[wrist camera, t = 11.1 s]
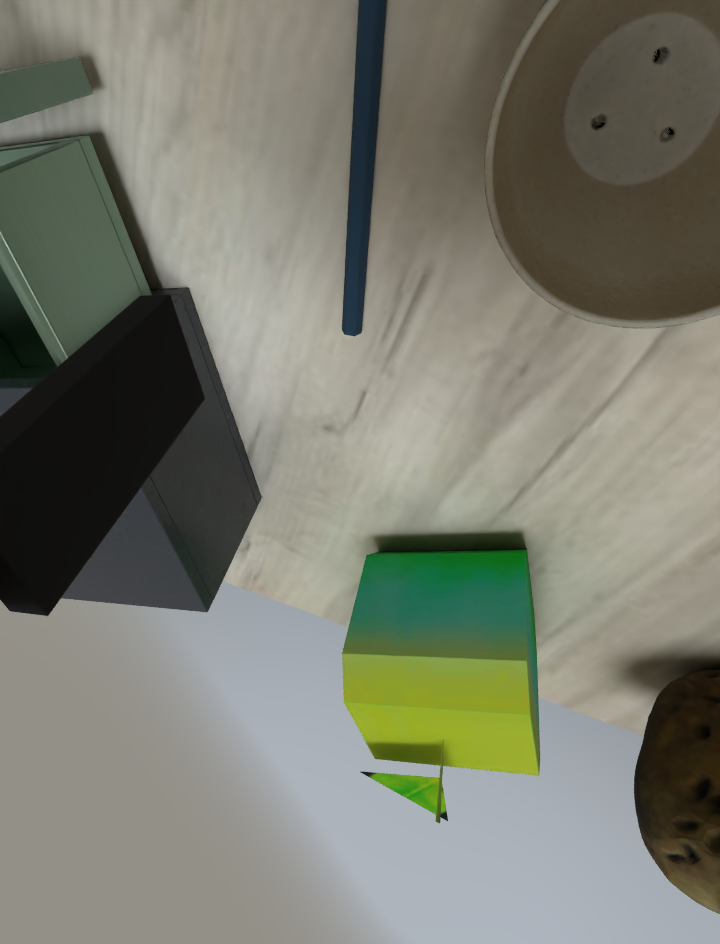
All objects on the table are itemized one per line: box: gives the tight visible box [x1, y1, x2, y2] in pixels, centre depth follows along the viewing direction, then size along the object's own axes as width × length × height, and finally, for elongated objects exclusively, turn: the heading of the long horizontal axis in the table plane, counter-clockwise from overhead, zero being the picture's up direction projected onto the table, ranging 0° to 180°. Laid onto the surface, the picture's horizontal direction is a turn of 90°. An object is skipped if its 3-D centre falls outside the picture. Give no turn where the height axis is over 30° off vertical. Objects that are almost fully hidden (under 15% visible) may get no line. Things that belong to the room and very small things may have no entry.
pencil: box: [342, 0, 386, 336], centre depth 23 cm, size 1×1×15 cm
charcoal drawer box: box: [0, 288, 261, 612], centre depth 31 cm, size 15×13×9 cm
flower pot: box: [484, 0, 720, 328], centre depth 17 cm, size 10×10×7 cm
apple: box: [342, 549, 540, 823], centre depth 34 cm, size 11×10×15 cm
